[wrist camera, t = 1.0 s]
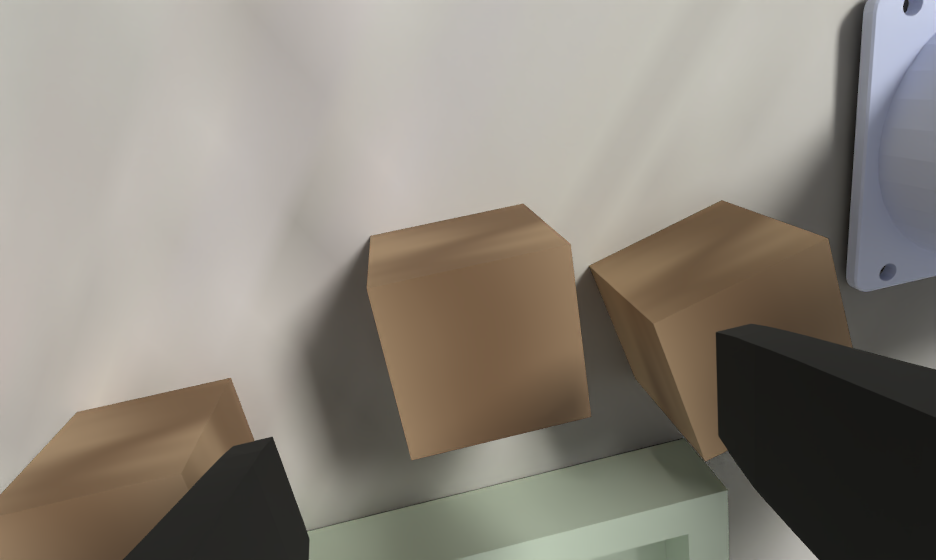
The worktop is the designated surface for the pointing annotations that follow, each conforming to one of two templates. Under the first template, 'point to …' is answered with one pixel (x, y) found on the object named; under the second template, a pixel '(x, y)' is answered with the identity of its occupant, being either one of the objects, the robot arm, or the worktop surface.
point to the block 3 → (714, 303)
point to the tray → (557, 516)
